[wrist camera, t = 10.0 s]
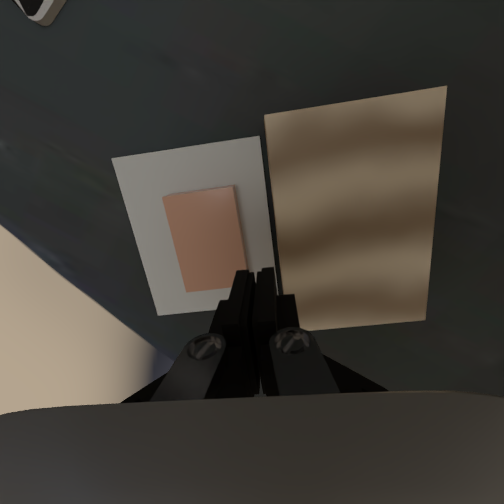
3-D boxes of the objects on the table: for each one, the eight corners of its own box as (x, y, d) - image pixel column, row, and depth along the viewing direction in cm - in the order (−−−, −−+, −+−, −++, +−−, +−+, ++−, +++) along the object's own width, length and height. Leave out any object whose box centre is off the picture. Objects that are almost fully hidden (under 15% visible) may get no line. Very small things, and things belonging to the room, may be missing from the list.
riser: (264, 122, 22) (264, 115, 18) (414, 98, 21) (447, 85, 17) (284, 308, 28) (288, 332, 24) (402, 297, 27) (425, 320, 23)
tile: (232, 186, 21) (234, 184, 23) (161, 197, 22) (169, 194, 24) (248, 285, 24) (249, 276, 26) (186, 292, 25) (191, 283, 27)
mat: (113, 158, 23) (111, 158, 23) (259, 136, 22) (259, 135, 22) (159, 313, 29) (158, 315, 28) (279, 301, 28) (279, 303, 27)
